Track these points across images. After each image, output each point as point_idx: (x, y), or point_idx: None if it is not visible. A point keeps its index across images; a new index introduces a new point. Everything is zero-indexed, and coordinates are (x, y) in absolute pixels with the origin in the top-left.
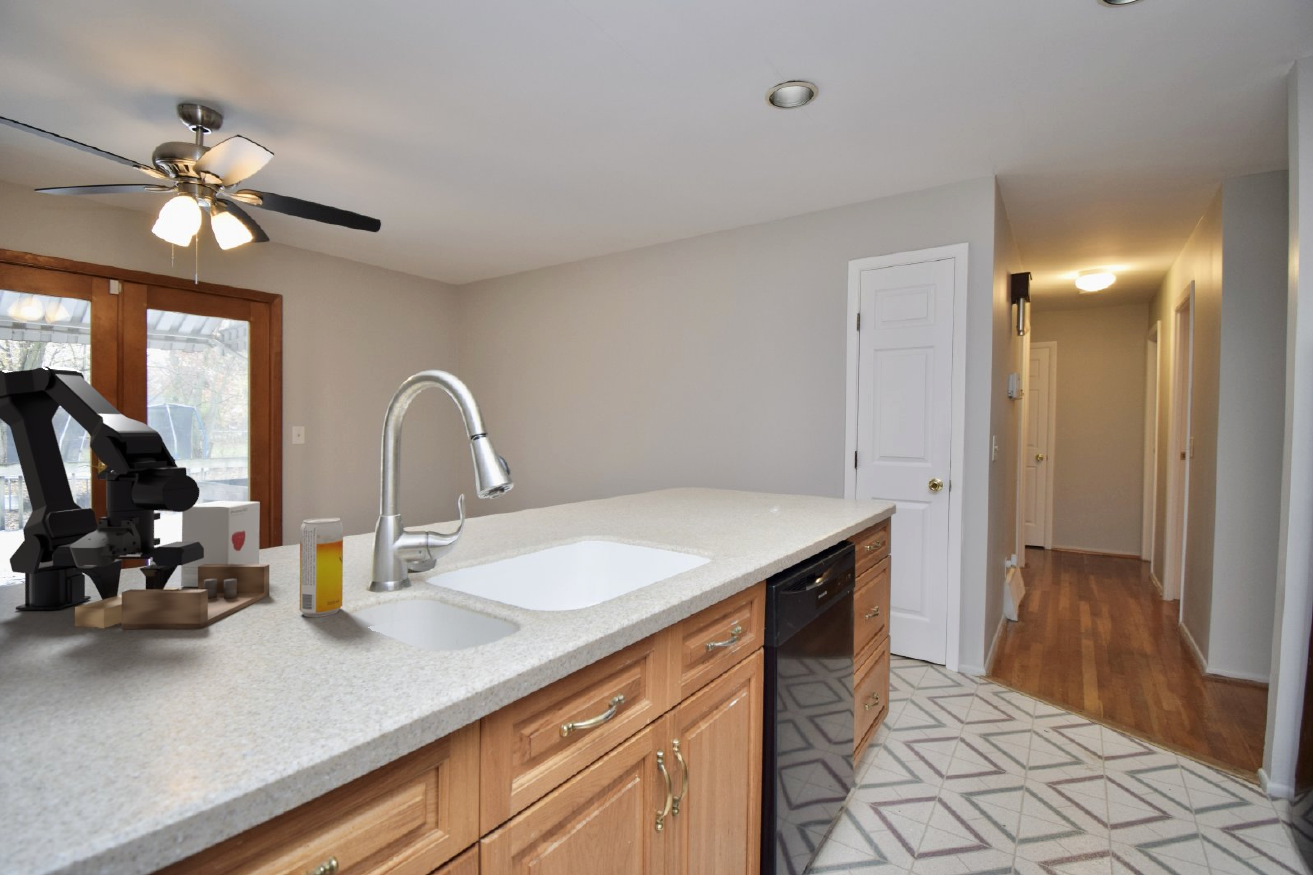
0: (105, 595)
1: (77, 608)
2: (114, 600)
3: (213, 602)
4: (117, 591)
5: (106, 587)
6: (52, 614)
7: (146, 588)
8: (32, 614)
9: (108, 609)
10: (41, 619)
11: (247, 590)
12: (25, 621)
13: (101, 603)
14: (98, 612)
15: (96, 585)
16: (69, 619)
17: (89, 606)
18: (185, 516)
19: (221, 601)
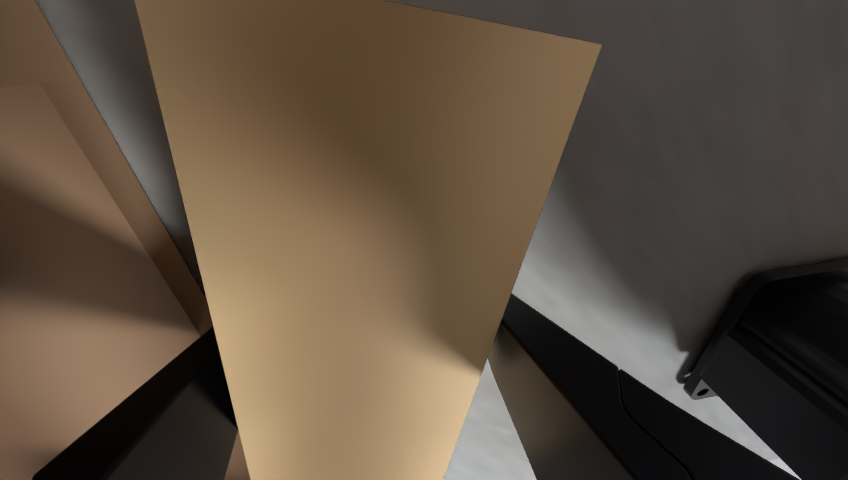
0: (522, 336)
1: (563, 39)
2: (395, 292)
3: (24, 458)
4: (507, 407)
5: (555, 406)
6: (746, 232)
7: (99, 473)
8: (829, 220)
9: (162, 40)
10: (770, 156)
11: None
12: (839, 113)
13: (427, 202)
14: None
15: (652, 401)
16: (629, 173)
17: (461, 87)
18: None
19: (8, 474)
